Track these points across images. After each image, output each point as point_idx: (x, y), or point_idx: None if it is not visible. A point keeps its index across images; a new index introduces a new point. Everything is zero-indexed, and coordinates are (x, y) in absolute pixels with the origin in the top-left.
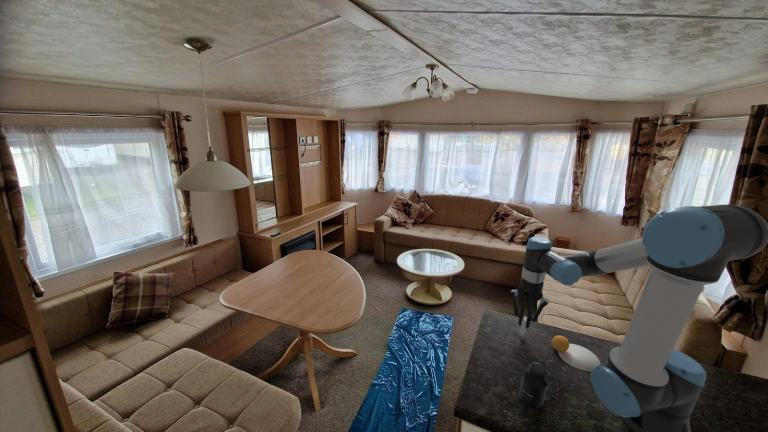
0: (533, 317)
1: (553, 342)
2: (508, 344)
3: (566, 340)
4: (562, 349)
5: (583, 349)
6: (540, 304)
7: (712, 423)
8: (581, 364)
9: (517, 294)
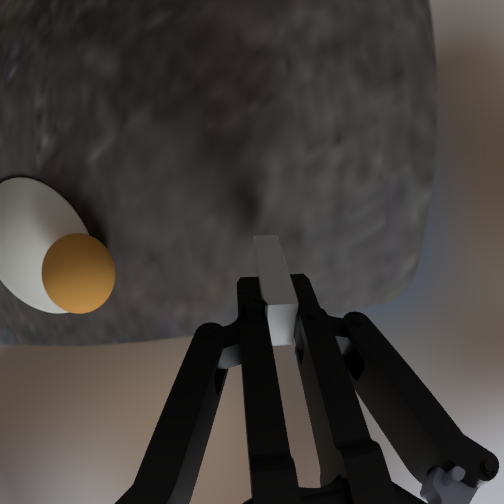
0: (218, 352)
1: (97, 257)
2: (316, 141)
3: (45, 288)
4: (60, 238)
5: (39, 300)
6: (180, 497)
7: None
8: (11, 213)
9: (436, 491)
